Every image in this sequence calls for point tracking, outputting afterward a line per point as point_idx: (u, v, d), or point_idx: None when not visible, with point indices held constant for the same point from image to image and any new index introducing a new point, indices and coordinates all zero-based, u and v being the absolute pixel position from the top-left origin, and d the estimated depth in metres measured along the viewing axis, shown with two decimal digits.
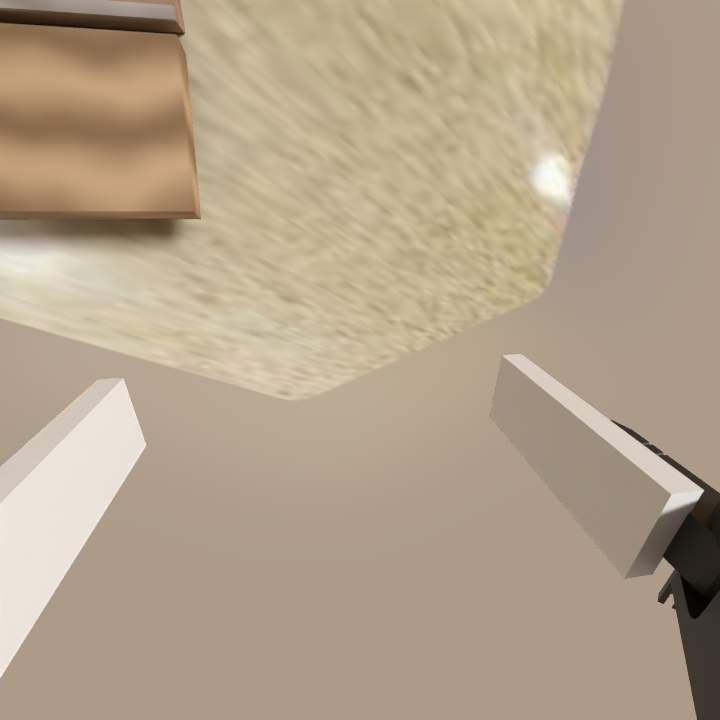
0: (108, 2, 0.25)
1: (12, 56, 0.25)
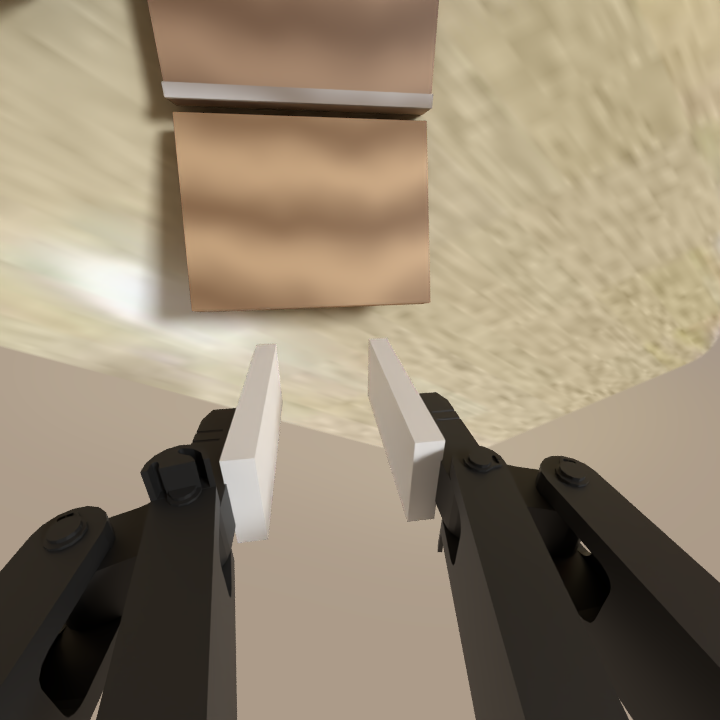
0: (371, 93, 0.24)
1: (267, 148, 0.24)
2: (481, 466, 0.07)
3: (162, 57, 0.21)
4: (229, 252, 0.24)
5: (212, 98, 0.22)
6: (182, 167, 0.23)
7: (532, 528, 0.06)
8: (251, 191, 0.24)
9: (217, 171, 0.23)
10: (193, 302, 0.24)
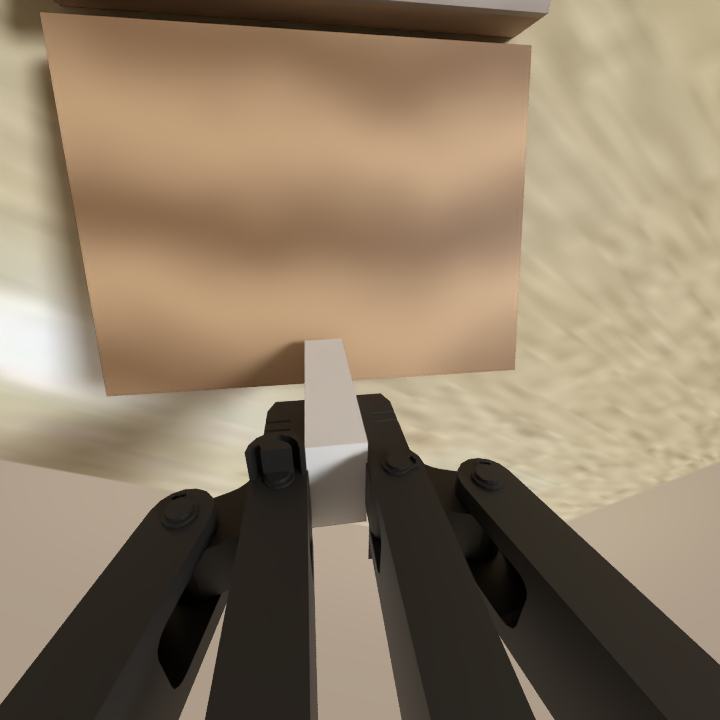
0: None
1: (234, 94, 0.12)
2: (398, 469, 0.07)
3: None
4: (170, 292, 0.13)
5: None
6: (69, 130, 0.12)
7: (446, 527, 0.06)
8: (206, 178, 0.13)
9: (138, 139, 0.12)
10: (108, 381, 0.14)
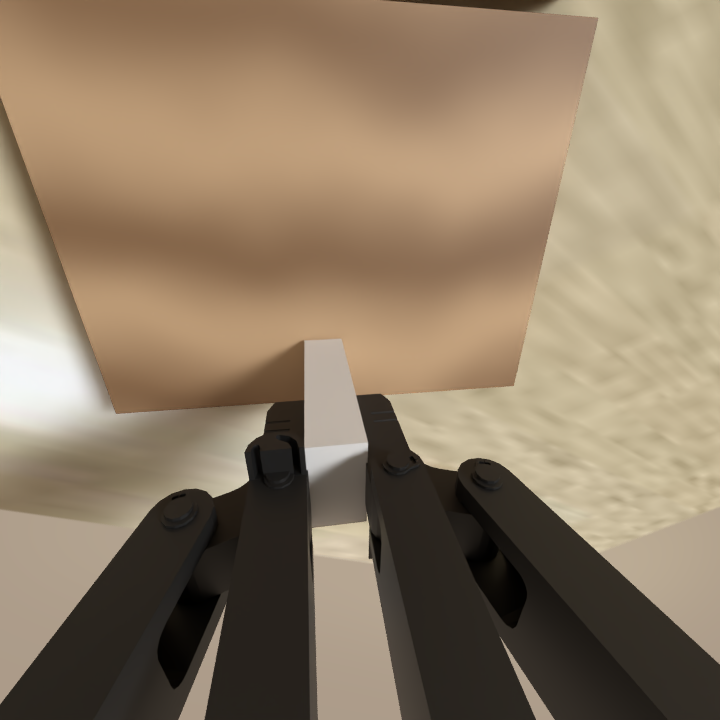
0: None
1: (223, 88, 0.10)
2: (399, 469, 0.07)
3: None
4: (168, 318, 0.13)
5: None
6: (25, 135, 0.10)
7: (447, 526, 0.06)
8: (196, 195, 0.11)
9: (111, 147, 0.10)
10: (116, 401, 0.14)
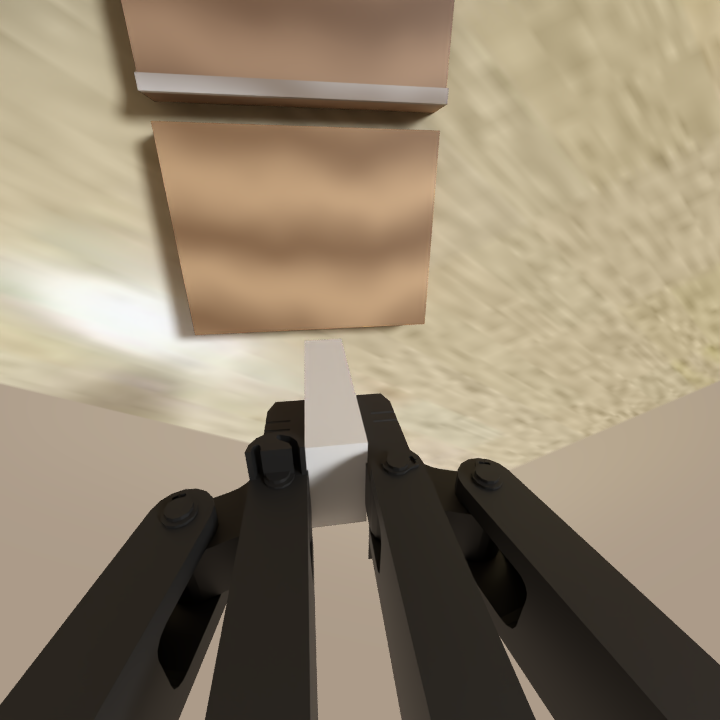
0: (378, 86, 0.20)
1: (261, 165, 0.22)
2: (398, 469, 0.07)
3: (135, 44, 0.18)
4: (227, 279, 0.24)
5: (194, 92, 0.19)
6: (169, 188, 0.21)
7: (446, 527, 0.06)
8: (246, 214, 0.23)
9: (208, 193, 0.22)
10: (195, 327, 0.25)
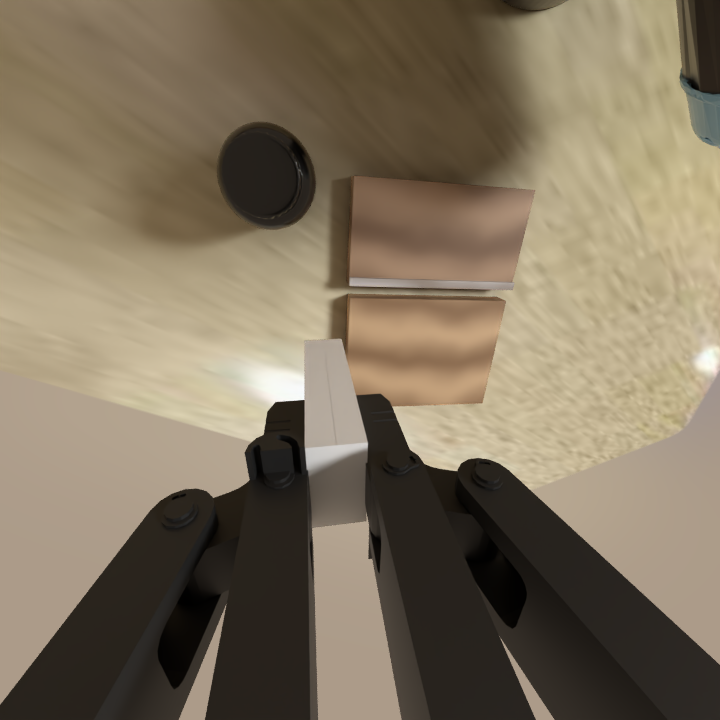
0: (476, 282, 0.36)
1: (404, 319, 0.37)
2: (398, 469, 0.07)
3: (352, 263, 0.34)
4: (371, 377, 0.39)
5: (378, 286, 0.35)
6: (351, 330, 0.37)
7: (446, 527, 0.06)
8: (390, 343, 0.38)
9: (371, 332, 0.37)
10: None
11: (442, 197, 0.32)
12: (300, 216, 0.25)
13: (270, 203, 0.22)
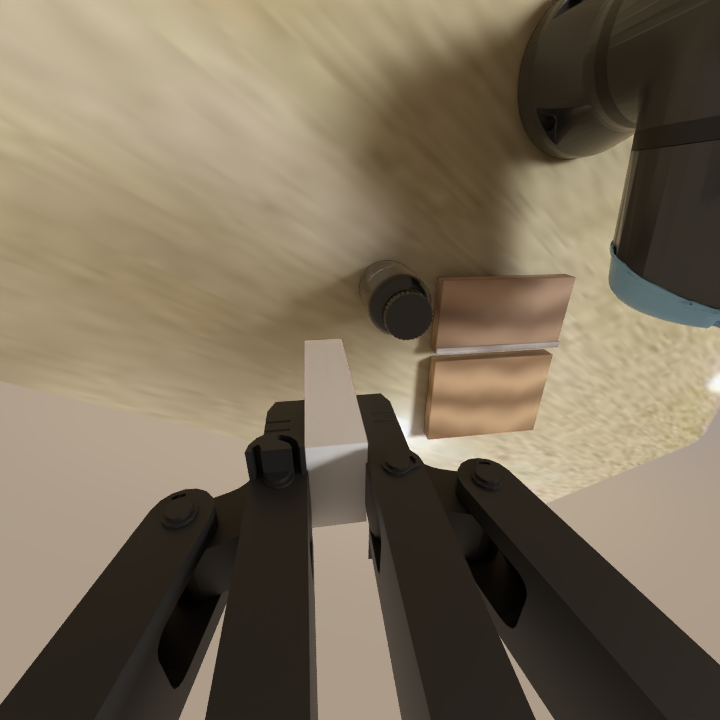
0: (530, 344, 0.48)
1: (474, 373, 0.49)
2: (398, 469, 0.07)
3: (438, 338, 0.46)
4: (448, 416, 0.51)
5: (457, 352, 0.47)
6: (435, 384, 0.49)
7: (446, 527, 0.06)
8: (463, 391, 0.50)
9: (450, 384, 0.49)
10: (429, 436, 0.52)
11: (506, 288, 0.44)
12: None
13: (412, 331, 0.34)
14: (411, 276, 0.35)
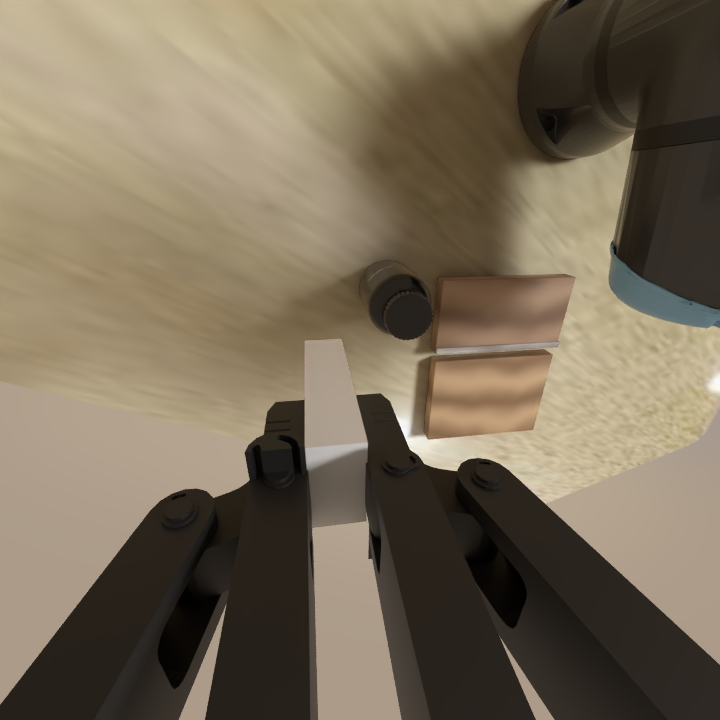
0: (530, 344, 0.48)
1: (474, 373, 0.49)
2: (398, 469, 0.07)
3: (438, 338, 0.46)
4: (448, 416, 0.51)
5: (457, 352, 0.47)
6: (435, 384, 0.49)
7: (446, 527, 0.06)
8: (463, 391, 0.50)
9: (450, 384, 0.49)
10: (429, 436, 0.52)
11: (506, 288, 0.44)
12: None
13: (412, 331, 0.34)
14: (411, 276, 0.35)
